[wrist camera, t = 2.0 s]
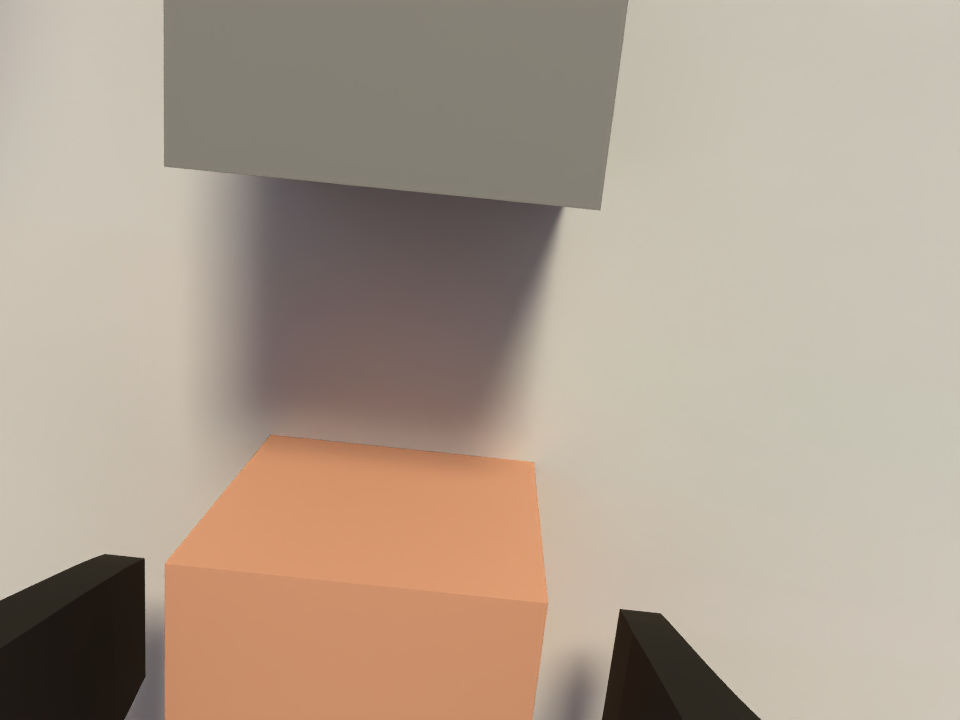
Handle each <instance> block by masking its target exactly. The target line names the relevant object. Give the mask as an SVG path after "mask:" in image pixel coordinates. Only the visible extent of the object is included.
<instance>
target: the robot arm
mask: <svg viewBox="0 0 960 720" xmlns="http://www.w3.org/2000/svg"><path fill="white" fill-rule="evenodd" d="M144 678H145V558H136V557H127V556H118V555H108V554H104V555H101V556H98V557H95V558H93V559H90V560H88V561H85V562H83V563H80V564H78V565H76V566H74V567H71V568H69V569H67V570H65V571H63V572H60V573H58V574H56V575H54V576H52V577H50V578H47V579H45V580H43V581H41V582H39V583H37V584H35V585H33V586H30V587H28V588H26V589H24V590H22V591H20V592H18V593H15V594H13V595H11V596H9V597H7V598H5V599H3V600H0V720H124V719H125V717H126V715H127V713H128V711H129V709H130V707H131V705H132V703H133V701H134V699H135V697H136V695H137V693H138V691H139V688H140V686H141V684H142V682H143V680H144ZM602 720H761V719H760V718H759V717H758V716H756V715H755V714H754V713H753V712H752V711H751V710H750V709H749V708H748V707H747V706H746V705H745V704H744V703H743V702H742V701H741V700H740V699H739V698H738V697H737V696H736V695H735V694H734V693H733V692H732V690H731V689H730V688H729V687H728V686H727V685H726V684H725V683H724V682H723V681H722V680H721V679H720V678H719V677H718V676H717V675H716V674H715V673H714V671H713V670H712V669H711V668H710V667H709V666H708V665H707V664H706V663H705V662H704V661H703V660H702V658H701V657H700V656H699V655H698V654H697V653H696V652H695V651H694V650H693V648H692V647H691V646H690V645H689V644H688V643H687V642H686V641H685V640H684V638H683V637H682V636H681V635H680V634H679V633H678V632H677V631H676V629H675V628H674V627H673V626H672V625H671V624H670V623H669V622H668V621H667V620H666V619H665V618H664V617H663V615H662V614H661V613H651V612H642V611H633V610H623V609H620V612H619V618H618V624H617V630H616V637H615V643H614V649H613V655H612V661H611V668H610V674H609V680H608V686H607V693H606V699H605V705H604V711H603V717H602Z"/></svg>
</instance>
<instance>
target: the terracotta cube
mask: <svg viewBox="0 0 960 720" xmlns="http://www.w3.org/2000/svg"><path fill="white" fill-rule="evenodd" d="M547 607H548V599H547V589H546V579H545V569H544V559H543V548H542V538H541V528H540V518H539V508H538V498H537V488H536V478H535V467H534V462H527V461H517V460H507V459H498V458H488V457H478V456H469V455H459V454H449V453H440V452H430V451H421V450H411V449H401V448H392V447H382V446H372V445H363V444H353V443H343V442H334V441H324V440H314V439H305V438H295V437H286V436H276V435H270V436H269V438H268V439H267V440H266V441H265V442H264V444H263V445H262V446H261V447H260V449H259V450H258V451H257V452H256V453H255V455H254V456H253V457H252V458H251V460H250V461H249V462H248V463H247V464H246V466H245V467H244V468H243V469H242V470H241V472H240V473H239V474H238V475H237V477H236V478H235V479H234V480H233V481H232V483H231V484H230V485H229V486H228V488H227V489H226V490H225V491H224V492H223V494H222V495H221V496H220V497H219V498H218V500H217V501H216V502H215V503H214V505H213V506H212V507H211V508H210V509H209V511H208V512H207V513H206V514H205V515H204V517H203V518H202V519H201V520H200V522H199V523H198V524H197V525H196V526H195V528H194V529H193V530H192V531H191V533H190V534H189V535H188V536H187V537H186V539H185V540H184V541H183V542H182V543H181V545H180V546H179V547H178V548H177V550H176V551H175V552H174V553H173V554H172V556H171V557H170V558H169V559H168V561H167V562H166V563H165V720H532V718H533V710H534V703H535V695H536V688H537V681H538V673H539V666H540V658H541V651H542V644H543V636H544V629H545V621H546V614H547Z"/></svg>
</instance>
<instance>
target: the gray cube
mask: <svg viewBox="0 0 960 720" xmlns="http://www.w3.org/2000/svg"><path fill="white" fill-rule="evenodd" d="M627 6H628V0H164V167H174V168H184V169H194V170H204V171H214V172H224V173H234V174H244V175H254V176H264V177H274V178H284V179H294V180H304V181H314V182H323V183H333V184H343V185H353V186H363V187H373V188H383V189H393V190H403V191H413V192H423V193H433V194H443V195H453V196H463V197H473V198H483V199H493V200H503V201H513V202H523V203H533V204H543V205H553V206H563V207H573V208H583V209H592V210H600V209H601V201H602V194H603V186H604V179H605V171H606V164H607V156H608V148H609V141H610V133H611V126H612V118H613V111H614V103H615V96H616V88H617V81H618V73H619V66H620V58H621V51H622V43H623V36H624V28H625V21H626V13H627Z"/></svg>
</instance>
